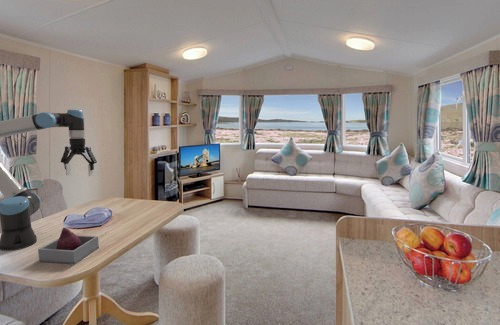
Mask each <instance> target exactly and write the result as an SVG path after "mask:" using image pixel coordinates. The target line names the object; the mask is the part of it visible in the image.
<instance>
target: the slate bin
mask: <svg viewBox="0 0 500 325" xmlns="http://www.w3.org/2000/svg"><path fill="white" fill-rule="evenodd" d="M76 235H77V236H78V238H79V239H80V241H81V243H82V245H81V246H80V247H78V248H77V249H75V250H57V243H58V240H59V238H56V239H55V240H53V241H52V242H49V243H47V244H46V245H44V246H42V247H39V248H38V250H37V253H38V261H39V263H48V264H60V265H73V266H74V265H77V264H78V263H79V262H81V261H82V260H83V259H85V258H86V257H88V256H90V255H91V254H92V253H94V252H95V251H97V250H98V249H99V248H100V246H99V242H100V241H99V236H97V235H82V234H81V235H80V234H76Z"/></svg>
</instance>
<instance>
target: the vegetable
mask: <svg viewBox="0 0 500 325" xmlns="http://www.w3.org/2000/svg"><path fill="white" fill-rule="evenodd" d="M77 235H78V234H76V233H75V232H72V231H71V230H70V229H69V228H67V227H64V226H63V227H62V229H61V232H60V236H59V238H58V239H59V240H58V243H57V250H75V249H77V248H78V247H80V246H81V245H82V243H81V241H80V239H79V238H78V236H77Z"/></svg>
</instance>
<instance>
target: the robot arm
mask: <svg viewBox="0 0 500 325" xmlns="http://www.w3.org/2000/svg"><path fill="white" fill-rule="evenodd" d="M51 128H68V137H69V145H67V146H64V152H63V154H62V156H61V159H60V163H63V166H64V170H65V175H66V176H70V175H71V174H72V173H71V172H72V171H71V163H70V161H71V160H72V159H73V158H74V157H75V155H76V156H77V155H78V156H79V155H80V156H82V157H83V158H84V160H85V161H86V162H87V163H88V164H87V169H88V177H92V176H94V170H95V166H94V165H95V164H97V163H98V162H97V159H96V157H95V155H94V154H93V153H94V152H92V148H91V146H86V138H85V137H86V136H85V118H84V112H83V110H81V109H67V112H66V113H65V112H64V113H63V112H62V113H61V112H48V111H44V112H39V113H36V114H31V115H26V116H20V117H15V118H11V119H10V118H9V119H5V120H0V139H1V138H2V139H3V138H5V137H11V136H14V135H15V136H16V135H21V134H24V133H29V132H30V133H31V132H35V131H39V130H45V129H51ZM0 192H1V194H2V195H3V196H4V198H3V200H1V201H0V226H1V227H0V228H1V229H0V230H1V234H0V251H16V250H20V249H21V250H22V249H24V248H27V247H29V246H33V245H34V244H36V243H37V241H38V239H37V235H36V234H35V231H34V230H33V227H32V222H31V216H32V215H34V214H36V212H37V211H38V210H39V209H40V207H41V203H42V202H41V201H42V200H41V198H40V196H39V195H38V194H36V193H34V192H31V191H30V189H29V188H28V187H26V186H25V187H23V186H22V185H21V183H19V182H18V180H17V179H16V178H15V177H14V175H13V174H12V173H11V172H10V171H9V169H8V168H7V167H6V166H5V164H4V163H2V161H1V160H0Z"/></svg>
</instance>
